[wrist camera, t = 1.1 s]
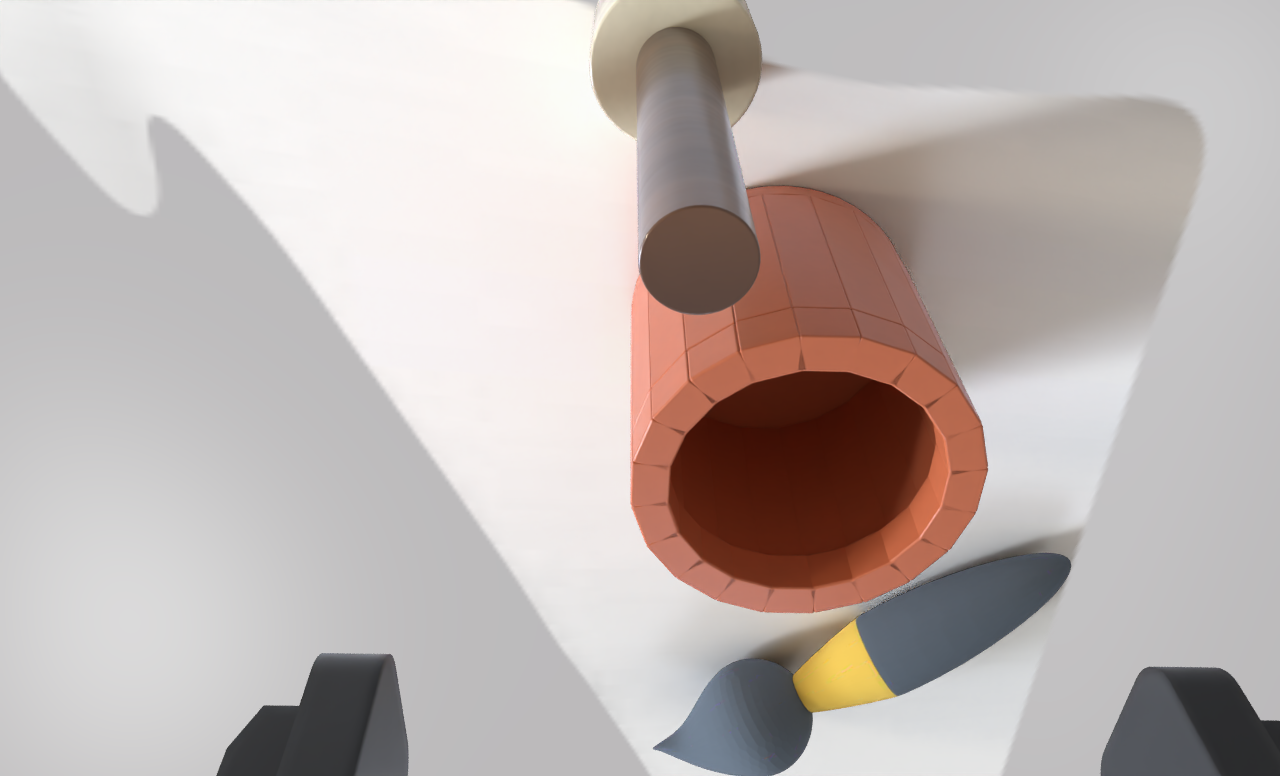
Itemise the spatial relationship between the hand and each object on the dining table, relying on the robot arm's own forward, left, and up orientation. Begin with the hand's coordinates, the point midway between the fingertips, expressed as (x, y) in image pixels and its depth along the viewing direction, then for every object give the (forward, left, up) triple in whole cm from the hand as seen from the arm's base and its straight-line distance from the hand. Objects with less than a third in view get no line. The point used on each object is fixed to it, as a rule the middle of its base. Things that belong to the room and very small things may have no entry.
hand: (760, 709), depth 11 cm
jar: (+9, +4, -25) cm, 27 cm away
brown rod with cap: (-1, 0, -25) cm, 25 cm away
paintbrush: (+25, +9, -25) cm, 37 cm away
